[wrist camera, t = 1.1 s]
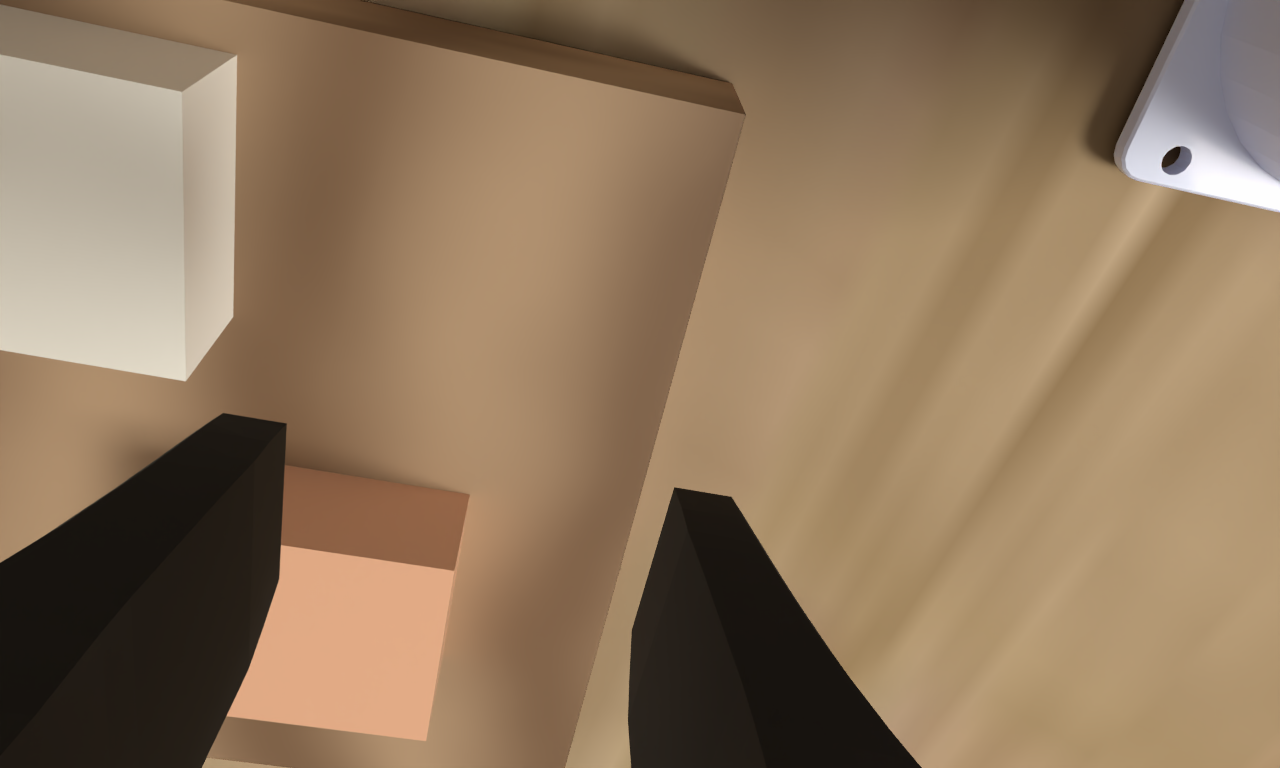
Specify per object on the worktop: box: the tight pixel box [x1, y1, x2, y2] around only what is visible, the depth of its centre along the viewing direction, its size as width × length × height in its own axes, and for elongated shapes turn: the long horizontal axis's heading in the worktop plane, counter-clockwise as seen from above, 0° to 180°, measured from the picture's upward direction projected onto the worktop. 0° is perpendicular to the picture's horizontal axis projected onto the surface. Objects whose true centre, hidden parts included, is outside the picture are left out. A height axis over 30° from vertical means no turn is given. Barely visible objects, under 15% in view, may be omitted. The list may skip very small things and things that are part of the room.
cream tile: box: [0, 5, 237, 381], centre depth 15 cm, size 4×4×2 cm
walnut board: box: [0, 0, 746, 768], centre depth 20 cm, size 13×17×2 cm
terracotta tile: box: [227, 465, 470, 741], centre depth 19 cm, size 4×4×2 cm
